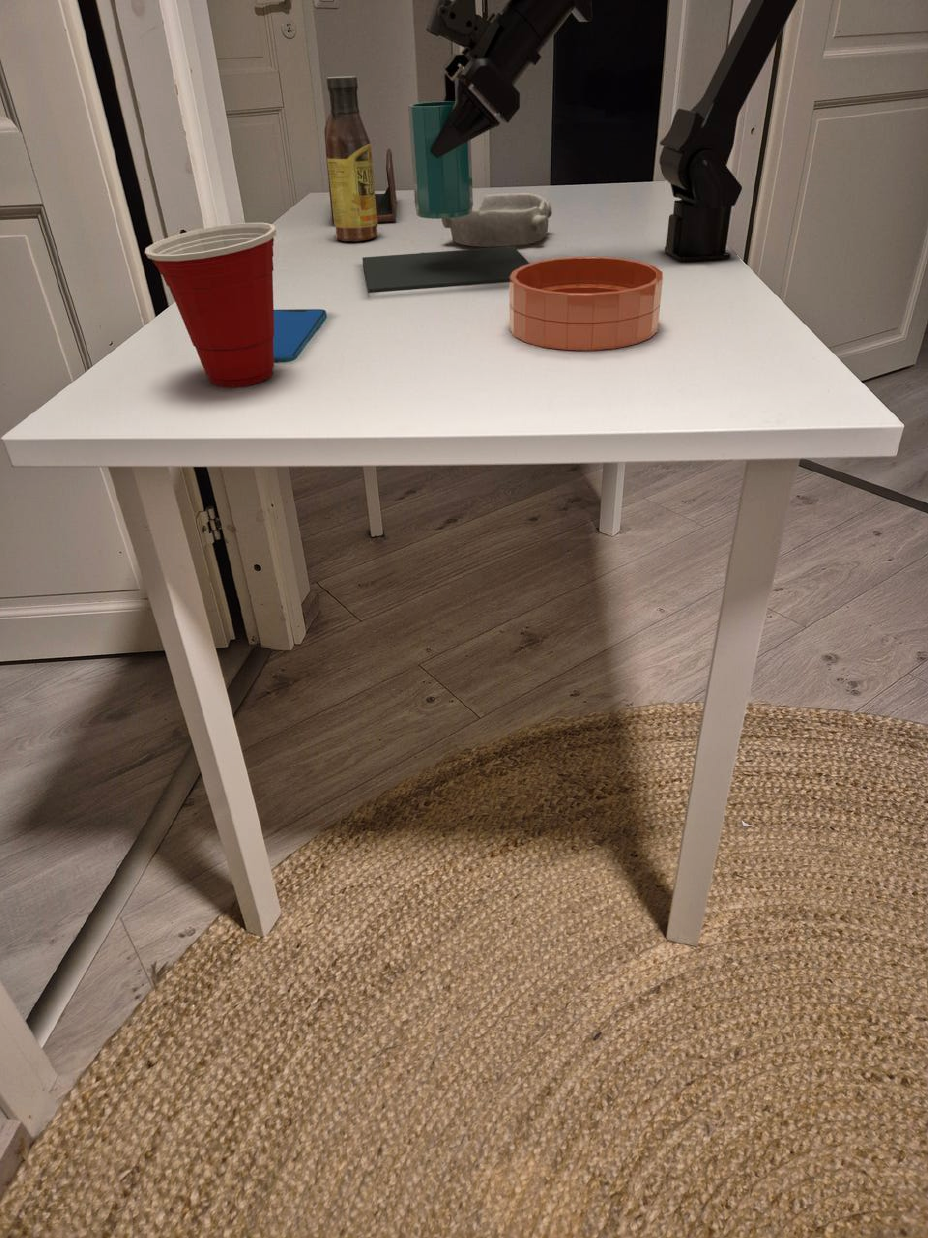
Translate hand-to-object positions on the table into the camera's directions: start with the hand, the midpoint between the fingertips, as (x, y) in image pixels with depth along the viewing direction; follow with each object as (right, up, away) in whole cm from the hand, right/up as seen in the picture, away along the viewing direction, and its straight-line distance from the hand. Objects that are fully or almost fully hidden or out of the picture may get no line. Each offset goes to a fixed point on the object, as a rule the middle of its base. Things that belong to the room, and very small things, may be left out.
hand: (429, 150), depth 93 cm
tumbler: (+2, -5, +4) cm, 7 cm away
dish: (+9, 0, +23) cm, 25 cm away
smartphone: (-15, -25, -9) cm, 31 cm away
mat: (+2, -11, +8) cm, 14 cm away
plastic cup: (-16, -31, -19) cm, 40 cm away
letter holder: (-12, +14, +44) cm, 48 cm away
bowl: (+16, -25, -13) cm, 32 cm away
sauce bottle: (-12, +3, +27) cm, 30 cm away
